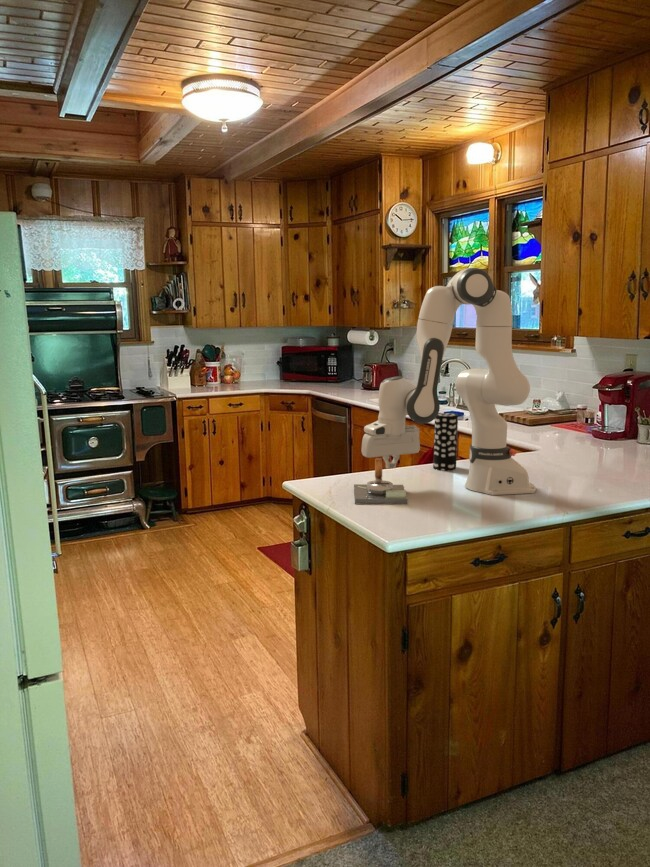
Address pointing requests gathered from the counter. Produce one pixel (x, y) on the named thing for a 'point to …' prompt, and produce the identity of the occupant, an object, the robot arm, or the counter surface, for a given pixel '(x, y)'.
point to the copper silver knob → (379, 481)
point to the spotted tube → (445, 441)
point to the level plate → (389, 498)
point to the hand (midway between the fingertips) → (390, 468)
